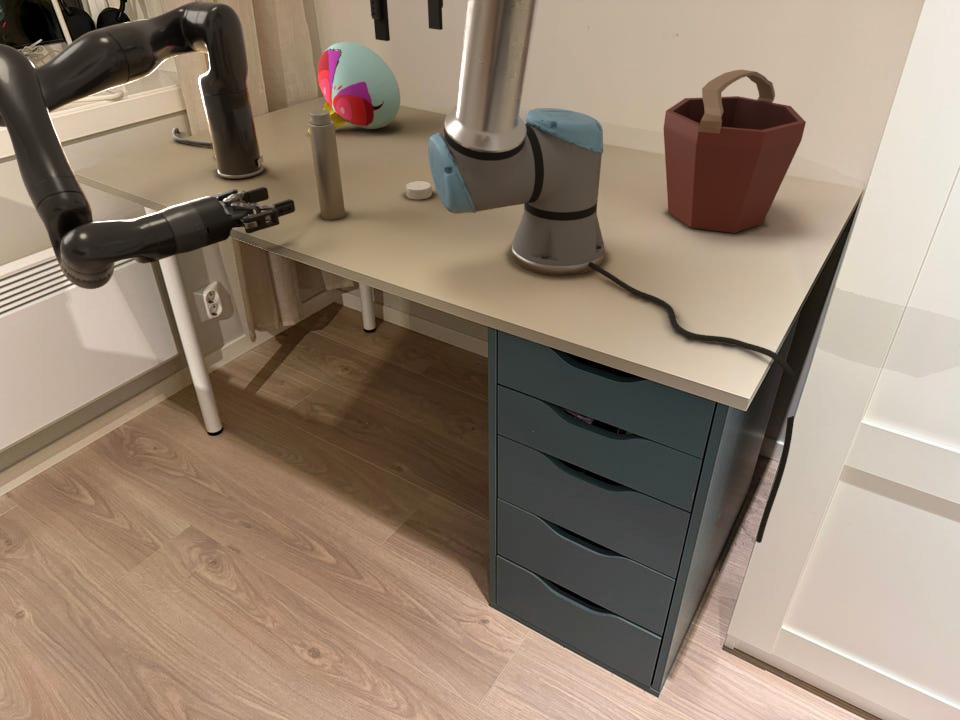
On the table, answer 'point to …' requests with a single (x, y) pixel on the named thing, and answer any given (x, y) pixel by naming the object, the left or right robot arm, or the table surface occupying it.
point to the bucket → (728, 154)
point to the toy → (358, 86)
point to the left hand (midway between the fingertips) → (280, 198)
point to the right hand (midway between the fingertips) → (410, 34)
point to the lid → (418, 190)
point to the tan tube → (326, 165)
